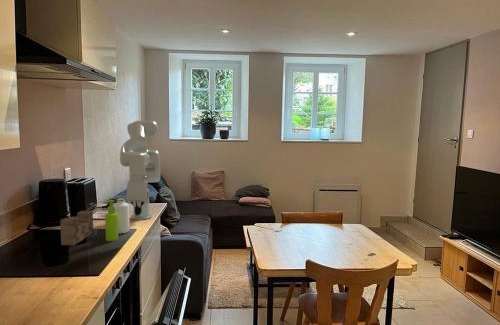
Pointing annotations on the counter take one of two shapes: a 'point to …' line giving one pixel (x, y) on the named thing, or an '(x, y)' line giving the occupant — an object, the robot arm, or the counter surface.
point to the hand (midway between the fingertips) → (138, 214)
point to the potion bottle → (122, 215)
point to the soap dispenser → (111, 222)
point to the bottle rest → (76, 228)
